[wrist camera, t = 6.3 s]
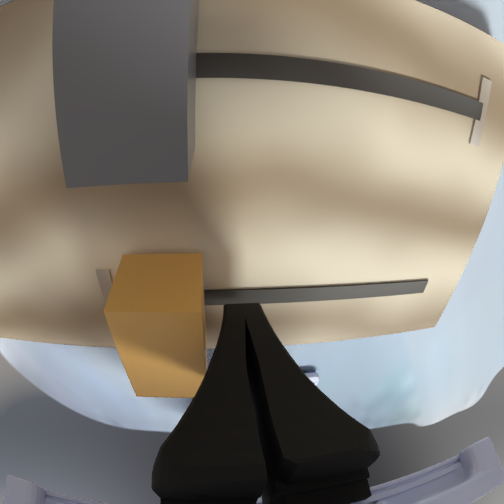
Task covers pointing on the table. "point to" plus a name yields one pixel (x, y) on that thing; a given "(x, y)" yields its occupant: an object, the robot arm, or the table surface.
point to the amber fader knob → (160, 322)
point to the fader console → (268, 173)
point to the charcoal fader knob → (125, 90)
